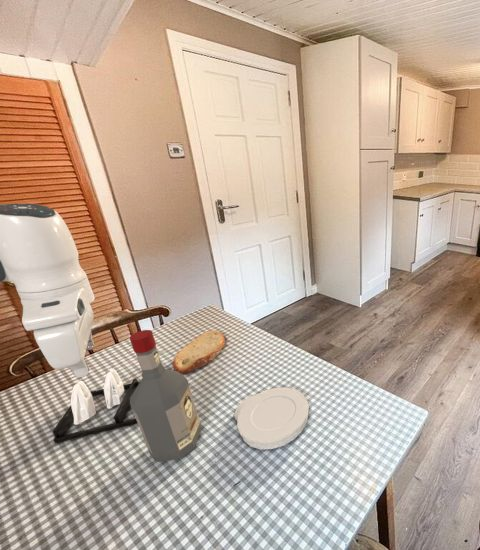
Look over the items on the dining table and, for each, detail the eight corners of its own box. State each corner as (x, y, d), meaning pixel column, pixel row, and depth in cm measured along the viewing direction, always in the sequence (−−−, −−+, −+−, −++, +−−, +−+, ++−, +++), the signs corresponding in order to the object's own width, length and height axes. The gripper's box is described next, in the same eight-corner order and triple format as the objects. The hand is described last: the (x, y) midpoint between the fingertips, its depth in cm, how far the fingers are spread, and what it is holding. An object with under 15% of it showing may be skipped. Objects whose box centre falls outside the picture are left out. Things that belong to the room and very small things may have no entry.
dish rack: (55, 443, 71) (49, 434, 70) (87, 395, 85) (83, 387, 84) (148, 421, 77) (144, 412, 76) (163, 379, 91) (161, 371, 90)
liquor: (146, 465, 66) (100, 351, 55) (165, 430, 74) (128, 324, 63) (191, 458, 67) (154, 346, 56) (205, 425, 76) (175, 321, 64)
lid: (265, 385, 88) (264, 376, 87) (322, 408, 80) (322, 399, 79) (215, 430, 74) (212, 421, 73) (278, 464, 66) (276, 454, 65)
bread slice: (219, 332, 115) (217, 323, 113) (237, 353, 102) (235, 344, 101) (164, 351, 104) (162, 342, 102) (177, 378, 91) (174, 368, 90)
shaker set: (78, 431, 74) (61, 396, 70) (70, 424, 76) (52, 390, 72) (131, 398, 84) (119, 365, 80) (123, 393, 86) (110, 361, 82)
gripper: (47, 281, 60) (72, 340, 65) (18, 327, 45) (53, 399, 50) (89, 275, 63) (109, 331, 69) (75, 315, 48) (103, 384, 53)
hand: (86, 360), depth 59 cm, fingers open, 8 cm apart
